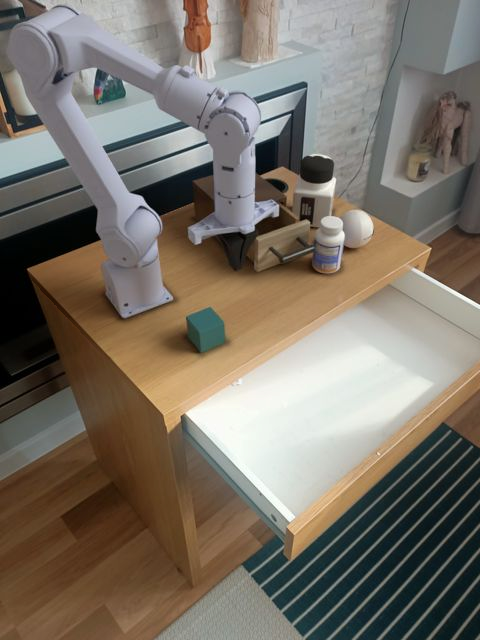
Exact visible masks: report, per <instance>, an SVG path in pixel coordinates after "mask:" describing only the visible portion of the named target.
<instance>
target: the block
mask: <svg viewBox="0 0 480 640" xmlns="http://www.w3.org/2000/svg"><path fill="white" fill-rule="evenodd" d="M185 321H186V332H187V338H188V339H189V340H190V341H191V342H192V344H193V345H194V346H195V348H196V349H197V350H198V351H199V352H200V354H202V353H205V352H207V351H210V350H211V349H214V348H216V347H218V346H222V345H223V344H226V327H225V326H226V323H225V321H224V320H223V319H222V318H221V317H220V315H218V313H217V311H215V310H214V309H213V308H212V307H211V306H209V307H206V308H204V309H201V310H199V311H196V312H193V313H191V314H188V315H186V316H185Z"/></svg>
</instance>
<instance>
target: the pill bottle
mask: <svg viewBox="0 0 480 640" xmlns="http://www.w3.org/2000/svg"><path fill="white" fill-rule="evenodd" d="M342 229H343V221H342V220H341V219H340V217H337V216H334V215H331V216H326V217H324V218H322V219H321V222H320V228H317V229H316V231H315V233H314V242H313V246H314V247H315V251H314V252H313V253H312V258H311V259H312V260H311V262H312V263H311V265H312V267H313V269H314V270H315V271H316V272H318V273H321V274H327V275H330V274H334V273H336V272H337V271H339V270H340V268H341V264H342V258H343V253H344V252H343V251H344V240H345V234H344V232H343V231H342Z"/></svg>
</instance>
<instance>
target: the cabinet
mask: <svg viewBox="0 0 480 640" xmlns="http://www.w3.org/2000/svg"><path fill="white" fill-rule="evenodd" d="M192 193H193V207H194V218H195V220H196V221H197V223H198V222H200V221H201V220H203V219H204V218H206V217H207V216H209V215H210V214H212V213H213V212H215V198H214V174H211V175H208V176H205V177H201V178H198V179H195V180H192ZM271 199H272V200H273V201H275V202H276V203H281V204H282V205H283V206H285V207H286V208H287V202H288V201H287V199H288V196H287V195H285V194H284V193H283V192H281V191H280V190H279V189H278V188H277V187H275V186H274V185H273V184H272V183H270V182H268V180H266V179H265V178H263V177H262V176H261V175H260V174H258V173H257V172H256V171H255V202H263V201H268V200H271ZM213 238H215V239H216V240H217V242H218V243H220V241H219V239H218V237H217V236H216V235H214V236H213Z"/></svg>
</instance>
